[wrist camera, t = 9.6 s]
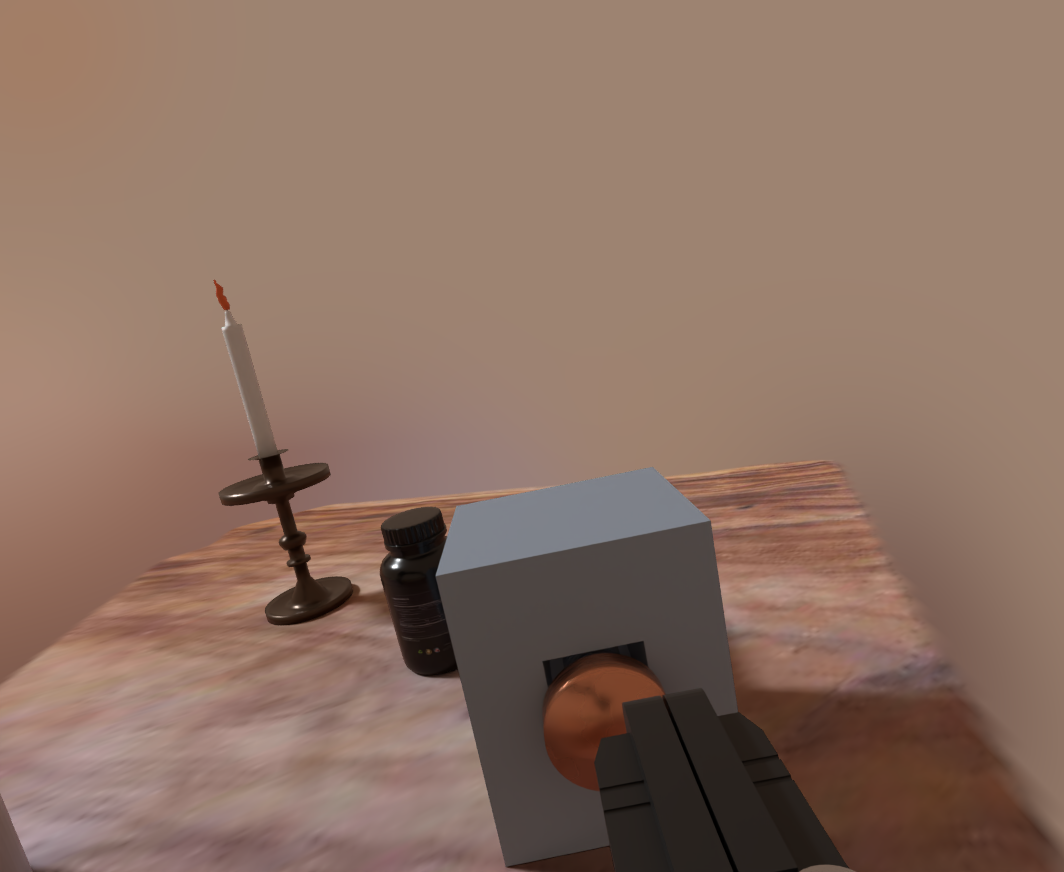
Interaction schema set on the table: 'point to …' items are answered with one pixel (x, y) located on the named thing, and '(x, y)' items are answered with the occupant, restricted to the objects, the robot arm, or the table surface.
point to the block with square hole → (574, 629)
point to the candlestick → (278, 492)
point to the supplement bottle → (417, 589)
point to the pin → (591, 708)
